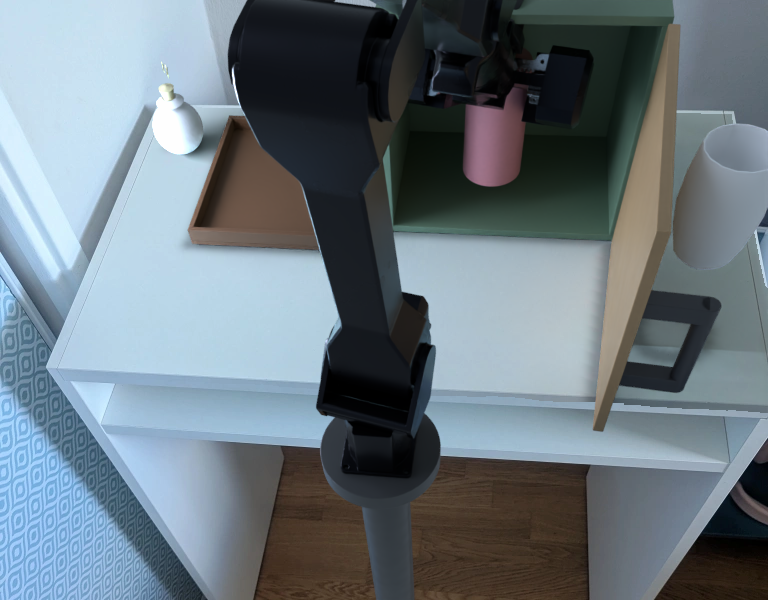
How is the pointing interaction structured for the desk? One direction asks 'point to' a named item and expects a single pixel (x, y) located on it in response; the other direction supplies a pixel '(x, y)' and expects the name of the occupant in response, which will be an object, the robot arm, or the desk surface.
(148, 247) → the desk surface
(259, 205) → the tray
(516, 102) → the cylindrical container
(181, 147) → the ornament
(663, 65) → the cupboard door
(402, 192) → the cupboard
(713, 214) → the cup
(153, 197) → the desk surface
